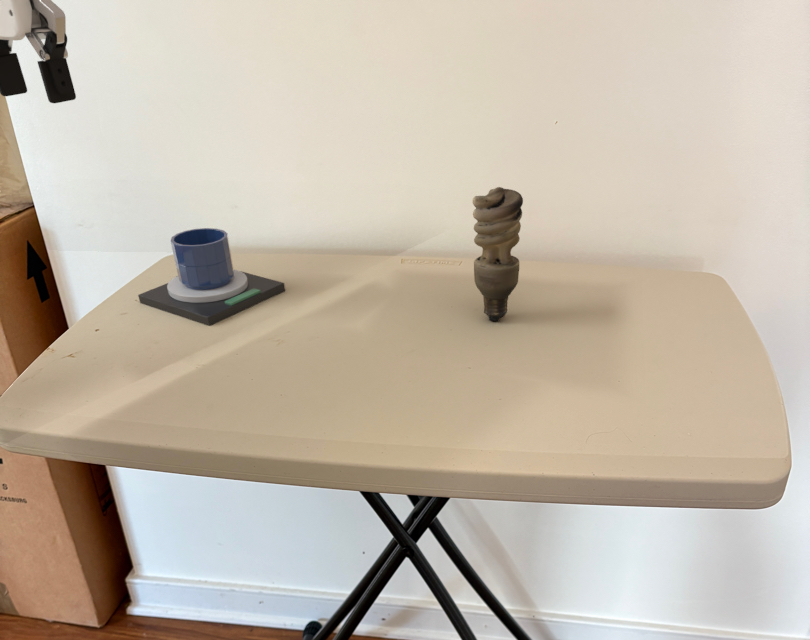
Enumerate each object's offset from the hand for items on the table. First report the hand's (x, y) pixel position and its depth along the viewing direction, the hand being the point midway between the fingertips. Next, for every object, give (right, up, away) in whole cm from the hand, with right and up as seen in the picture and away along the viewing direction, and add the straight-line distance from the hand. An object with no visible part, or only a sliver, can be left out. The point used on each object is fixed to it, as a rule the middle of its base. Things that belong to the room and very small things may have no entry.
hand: (38, 97), depth 87 cm
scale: (+18, -21, +10) cm, 29 cm away
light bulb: (+53, -24, +5) cm, 59 cm away
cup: (+17, -18, +9) cm, 27 cm away
